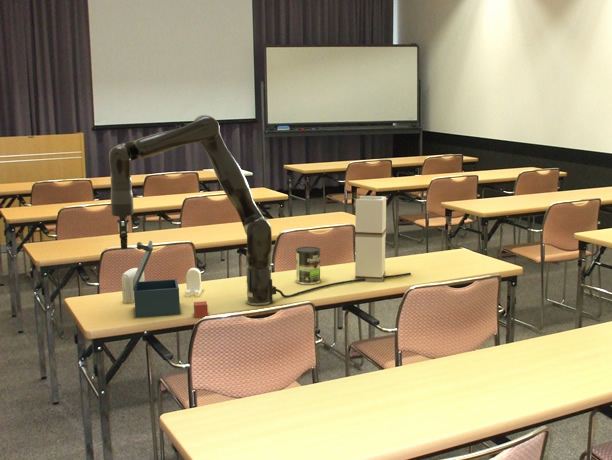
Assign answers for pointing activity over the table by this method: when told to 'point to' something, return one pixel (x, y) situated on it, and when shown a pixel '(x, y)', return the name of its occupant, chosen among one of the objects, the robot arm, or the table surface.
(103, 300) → the table surface
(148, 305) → the box
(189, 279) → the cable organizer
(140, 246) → the freezer lid
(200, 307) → the block
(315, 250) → the coffee can
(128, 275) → the photo printer
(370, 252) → the tall white pillar box
